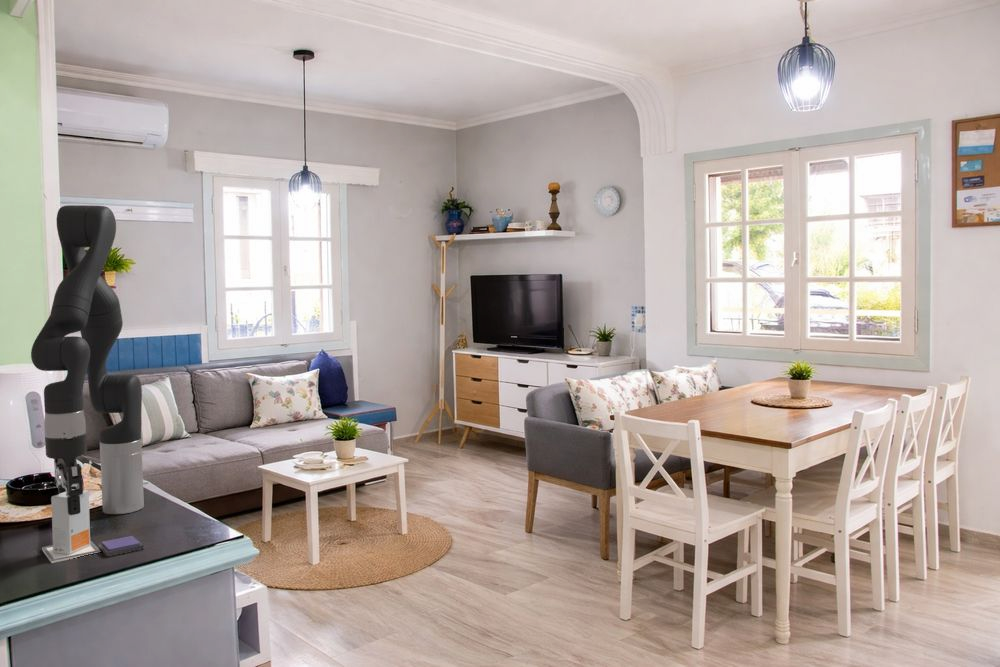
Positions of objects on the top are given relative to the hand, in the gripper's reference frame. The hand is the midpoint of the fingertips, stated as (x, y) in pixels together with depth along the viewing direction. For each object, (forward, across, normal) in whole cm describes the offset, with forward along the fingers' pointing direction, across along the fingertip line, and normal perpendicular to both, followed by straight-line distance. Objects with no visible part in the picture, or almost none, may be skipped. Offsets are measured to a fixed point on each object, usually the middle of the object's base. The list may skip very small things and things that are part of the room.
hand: (69, 509), depth 166 cm
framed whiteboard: (+9, 0, 0) cm, 9 cm away
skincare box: (+9, 0, 0) cm, 9 cm away
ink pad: (+9, +5, +8) cm, 13 cm away
